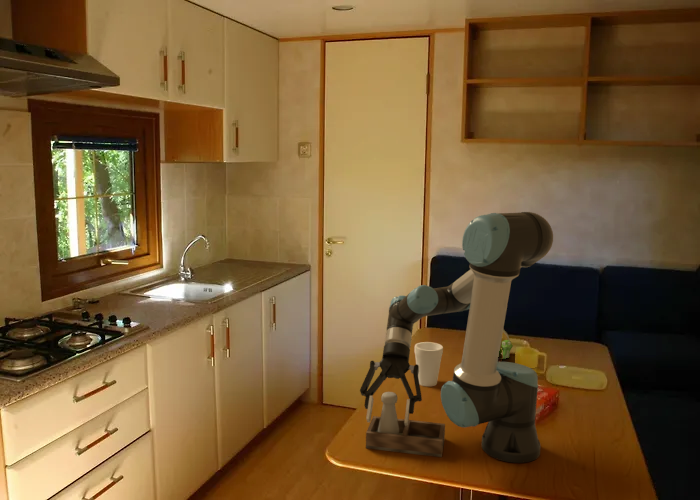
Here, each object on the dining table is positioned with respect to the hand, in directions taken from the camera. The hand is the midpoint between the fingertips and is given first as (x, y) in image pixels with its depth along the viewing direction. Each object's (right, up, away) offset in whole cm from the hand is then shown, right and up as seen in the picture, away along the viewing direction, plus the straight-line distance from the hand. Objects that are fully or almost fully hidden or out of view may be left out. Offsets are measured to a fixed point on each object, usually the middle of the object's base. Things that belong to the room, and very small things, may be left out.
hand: (387, 422), depth 164 cm
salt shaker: (+1, -6, +4) cm, 7 cm away
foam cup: (+17, 0, +46) cm, 49 cm away
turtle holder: (+46, +4, +73) cm, 86 cm away
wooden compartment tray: (+5, -7, +3) cm, 9 cm away
